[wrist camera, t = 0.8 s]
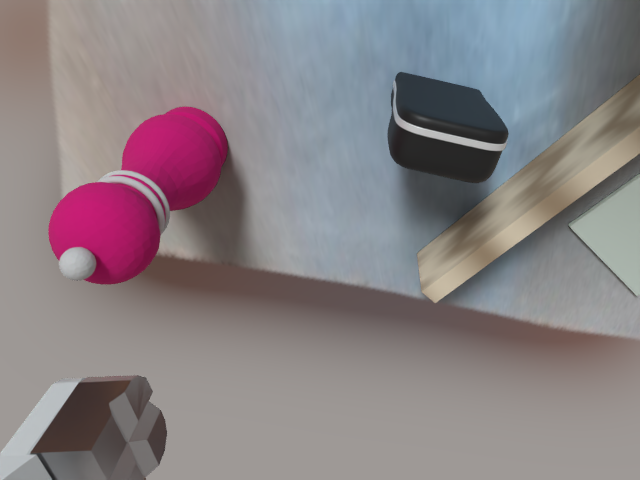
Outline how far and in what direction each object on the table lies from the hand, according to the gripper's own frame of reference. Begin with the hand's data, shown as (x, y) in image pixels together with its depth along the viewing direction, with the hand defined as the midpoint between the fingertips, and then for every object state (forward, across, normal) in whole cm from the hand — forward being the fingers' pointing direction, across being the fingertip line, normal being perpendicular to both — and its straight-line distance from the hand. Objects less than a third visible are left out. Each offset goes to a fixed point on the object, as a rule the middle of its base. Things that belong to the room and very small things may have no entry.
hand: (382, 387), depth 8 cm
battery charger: (+35, -4, +5) cm, 35 cm away
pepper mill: (+35, +16, +5) cm, 39 cm away
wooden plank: (+34, -12, +11) cm, 38 cm away
